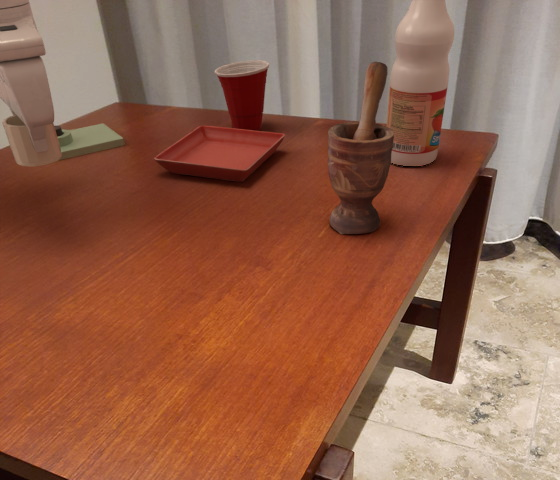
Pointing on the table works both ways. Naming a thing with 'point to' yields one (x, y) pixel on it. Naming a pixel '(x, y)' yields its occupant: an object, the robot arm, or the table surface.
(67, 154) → the scale
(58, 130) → the button
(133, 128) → the table surface
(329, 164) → the mortar and pestle
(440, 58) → the fruit juice
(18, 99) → the robot arm
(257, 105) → the plastic cup
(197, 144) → the plant saucer
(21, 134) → the ramekin
